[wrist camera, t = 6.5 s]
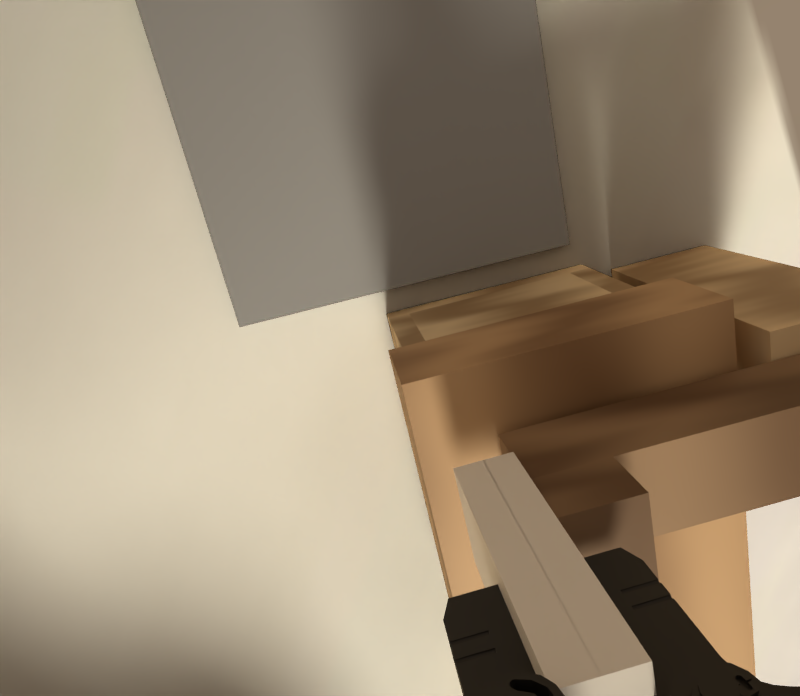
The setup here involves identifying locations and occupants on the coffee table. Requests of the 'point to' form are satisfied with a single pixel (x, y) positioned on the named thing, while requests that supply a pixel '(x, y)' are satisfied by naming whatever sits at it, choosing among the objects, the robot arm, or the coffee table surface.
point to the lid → (570, 394)
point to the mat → (359, 140)
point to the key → (668, 458)
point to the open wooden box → (702, 266)
